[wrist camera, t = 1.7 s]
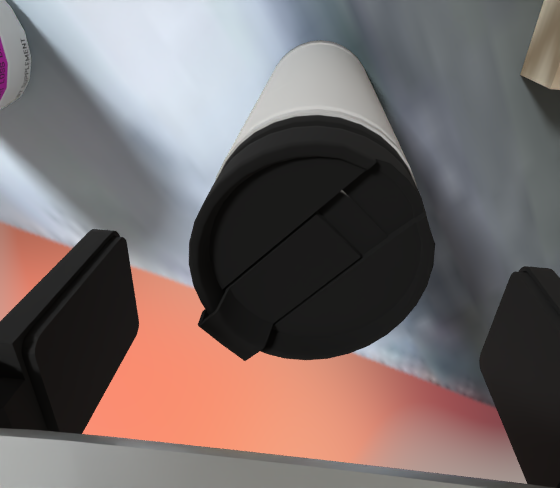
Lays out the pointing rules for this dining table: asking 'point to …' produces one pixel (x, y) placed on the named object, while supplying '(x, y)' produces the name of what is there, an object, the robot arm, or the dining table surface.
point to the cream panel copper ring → (545, 48)
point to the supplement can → (12, 57)
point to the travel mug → (311, 218)
